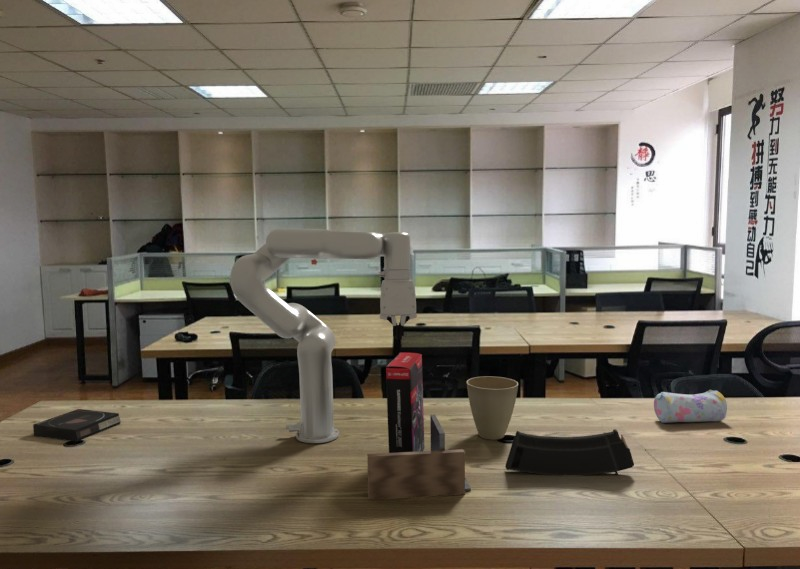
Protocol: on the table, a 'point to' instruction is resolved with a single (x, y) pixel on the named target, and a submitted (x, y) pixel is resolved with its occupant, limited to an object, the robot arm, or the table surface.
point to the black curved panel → (569, 454)
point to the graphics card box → (405, 403)
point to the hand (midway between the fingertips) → (398, 338)
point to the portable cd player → (76, 425)
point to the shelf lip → (416, 474)
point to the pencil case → (690, 407)
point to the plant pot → (492, 404)
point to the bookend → (440, 440)
